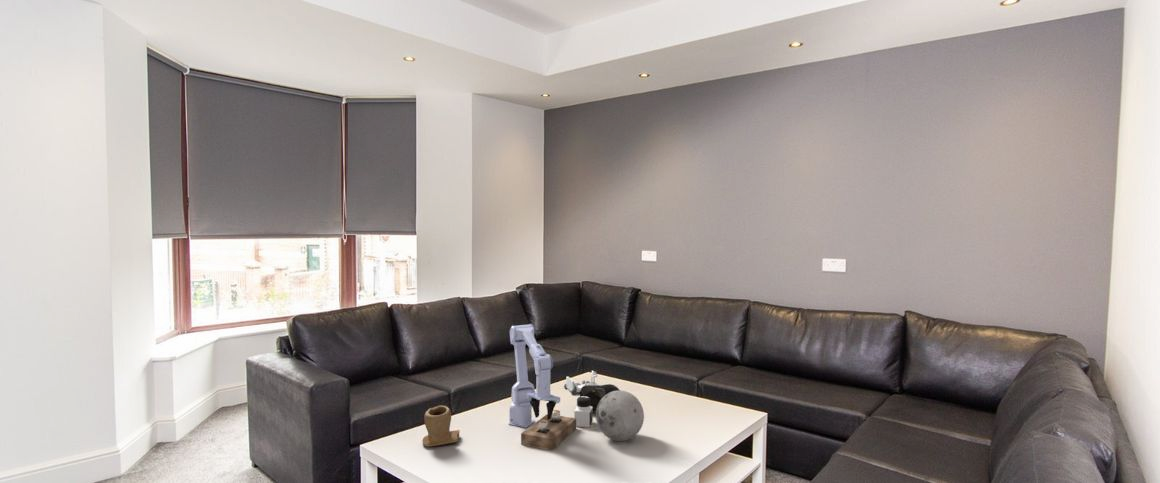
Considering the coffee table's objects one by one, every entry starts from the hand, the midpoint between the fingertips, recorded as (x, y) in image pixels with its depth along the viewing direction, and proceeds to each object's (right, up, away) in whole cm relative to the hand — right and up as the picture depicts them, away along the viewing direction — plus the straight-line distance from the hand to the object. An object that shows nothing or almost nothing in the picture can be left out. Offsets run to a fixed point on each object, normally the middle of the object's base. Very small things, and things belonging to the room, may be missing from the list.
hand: (543, 417), depth 216 cm
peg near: (0, -6, 0) cm, 6 cm away
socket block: (+2, -10, +6) cm, 12 cm away
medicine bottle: (+17, -10, +19) cm, 27 cm away
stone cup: (-41, -10, -2) cm, 42 cm away
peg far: (+5, -6, +11) cm, 13 cm away
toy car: (+17, -8, +68) cm, 70 cm away
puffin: (+24, -9, +38) cm, 46 cm away
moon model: (+32, -10, +3) cm, 33 cm away
